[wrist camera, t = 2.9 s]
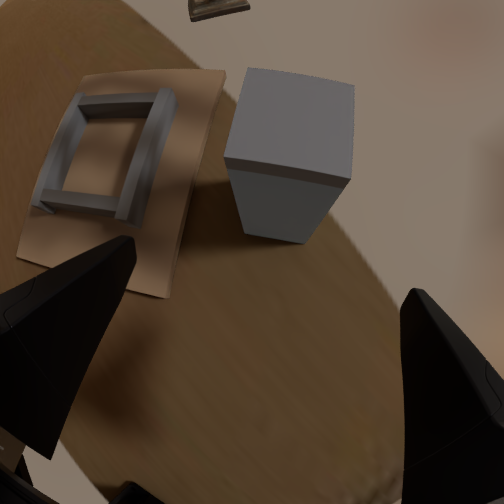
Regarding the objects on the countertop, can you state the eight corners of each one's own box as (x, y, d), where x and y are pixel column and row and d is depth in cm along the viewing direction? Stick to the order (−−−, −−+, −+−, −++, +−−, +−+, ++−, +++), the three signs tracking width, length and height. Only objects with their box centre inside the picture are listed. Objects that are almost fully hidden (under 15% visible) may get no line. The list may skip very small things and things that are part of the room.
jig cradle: (169, 298, 21) (152, 297, 18) (22, 258, 22) (-2, 252, 19) (226, 77, 24) (222, 51, 21) (87, 81, 25) (74, 62, 22)
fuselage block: (304, 244, 21) (350, 178, 10) (244, 233, 22) (223, 156, 10) (312, 187, 22) (354, 85, 10) (255, 177, 22) (247, 67, 11)
